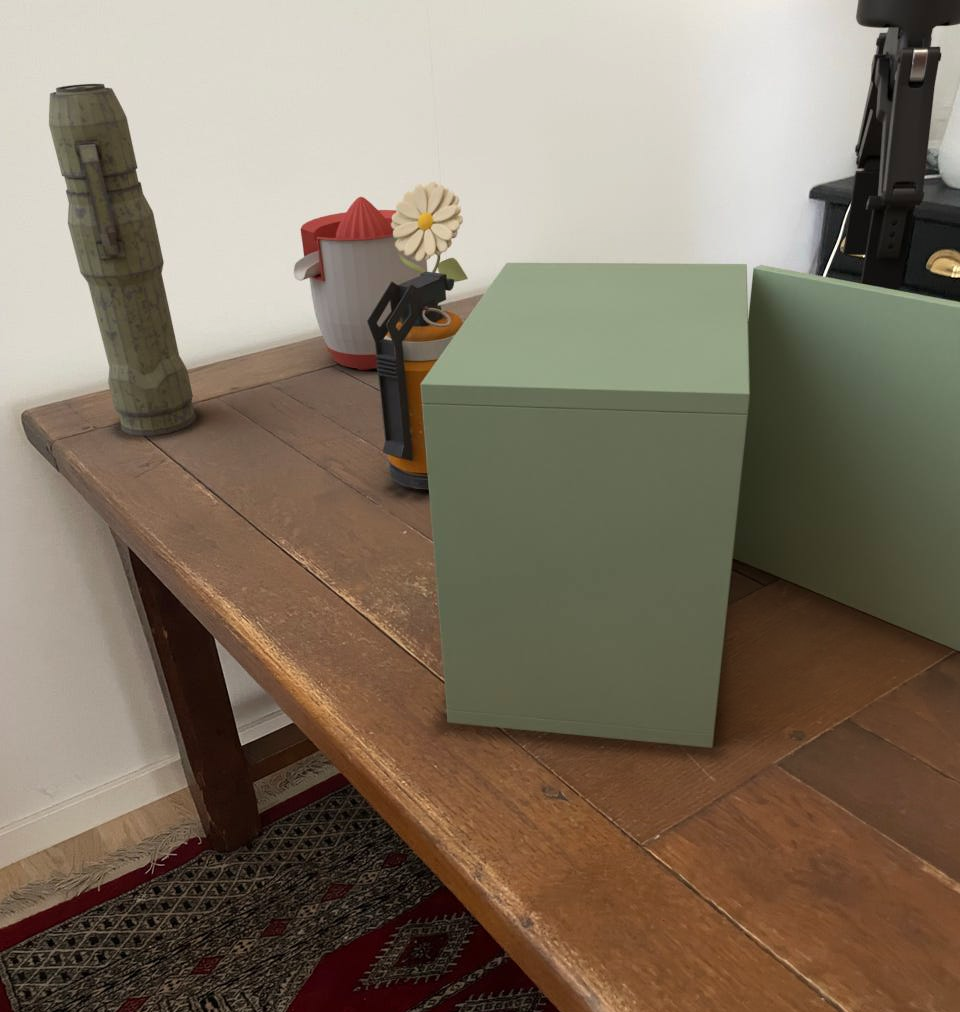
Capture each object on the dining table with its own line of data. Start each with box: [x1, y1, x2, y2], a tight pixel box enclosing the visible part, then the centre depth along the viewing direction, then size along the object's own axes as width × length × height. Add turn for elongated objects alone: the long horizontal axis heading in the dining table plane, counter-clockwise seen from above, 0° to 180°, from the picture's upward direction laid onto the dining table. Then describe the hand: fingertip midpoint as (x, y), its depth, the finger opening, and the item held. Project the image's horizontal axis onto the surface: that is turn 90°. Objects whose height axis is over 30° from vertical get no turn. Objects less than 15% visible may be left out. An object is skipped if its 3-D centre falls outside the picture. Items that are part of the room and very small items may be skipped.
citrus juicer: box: [293, 196, 428, 371], centre depth 131 cm, size 16×17×20 cm
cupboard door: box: [732, 264, 960, 652], centre depth 75 cm, size 8×26×24 cm, turn 42°
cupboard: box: [421, 262, 750, 749], centre depth 73 cm, size 18×26×24 cm
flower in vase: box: [391, 180, 468, 283], centre depth 113 cm, size 13×11×25 cm
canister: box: [367, 271, 464, 491], centre depth 98 cm, size 9×11×20 cm
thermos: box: [48, 83, 197, 437], centre depth 111 cm, size 9×12×35 cm
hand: (868, 276), depth 82 cm, fingers open, 13 cm apart
